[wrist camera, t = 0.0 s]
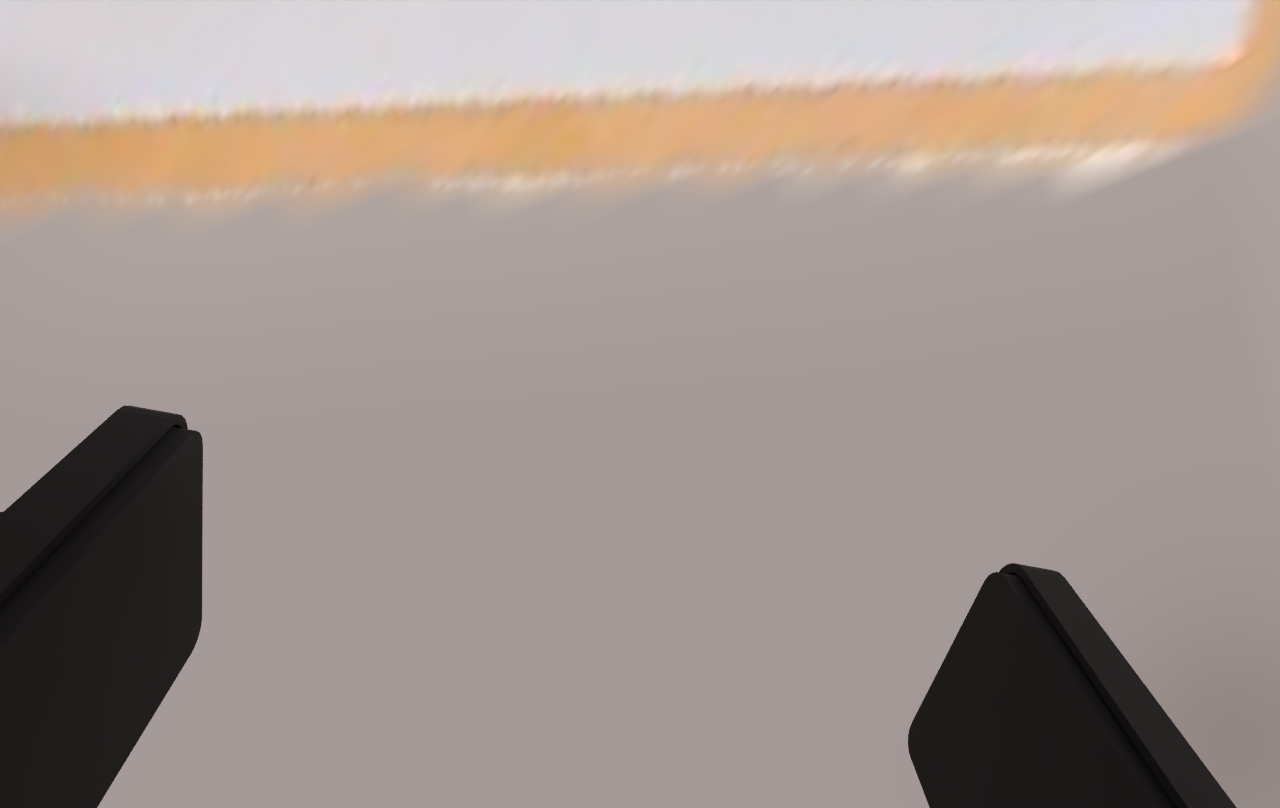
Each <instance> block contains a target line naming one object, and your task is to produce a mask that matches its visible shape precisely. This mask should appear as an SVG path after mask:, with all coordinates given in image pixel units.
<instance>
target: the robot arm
mask: <svg viewBox="0 0 1280 808" xmlns="http://www.w3.org/2000/svg"><path fill="white" fill-rule="evenodd" d="M202 468H203V443H202V437H201V434H200V433H199V432H198V431H193V430H188V429H187V423H186V420H185V418H184V417H183V416H181V415H178V414H173V413H167V412H162V411H156V410H150V409H145V408H139V407H133V406H123V407H121V408H120V409H118V410H117V411H116V412H115V413H113V414H112V415H111V416H110V417H109V418H108V419H107V420H106V421H105V422H103V423H102V424H101V425H100V426H99V427H98V428H97V429H96V430H94V431H93V432H92V433H91V434H90V435H89V436H88V437H87V438H86V439H84V440H83V441H82V442H81V443H80V444H79V445H78V446H77V447H75V448H74V449H73V450H72V451H71V452H70V453H69V454H68V455H67V456H65V457H64V458H63V459H62V460H61V461H60V462H59V463H58V464H57V465H55V466H54V467H53V468H52V469H51V470H50V471H49V472H48V473H47V474H45V475H44V476H43V477H42V478H41V479H40V480H39V481H38V482H36V483H35V484H34V485H33V486H32V487H31V488H30V489H29V490H28V491H26V492H25V493H24V494H23V495H22V496H21V497H20V498H19V499H17V500H16V501H15V502H14V503H13V504H12V505H11V506H10V507H9V508H7V509H6V510H5V511H4V512H0V808H97V807H98V805H99V803H100V802H101V800H102V798H103V797H104V795H105V793H106V792H107V790H108V789H109V787H110V785H111V784H112V782H113V781H114V779H115V777H116V776H117V774H118V772H119V771H120V769H121V767H122V766H123V764H124V762H125V761H126V759H127V758H128V756H129V754H130V753H131V751H132V749H133V747H134V746H135V745H136V743H137V741H138V740H139V738H140V736H141V735H142V733H143V731H144V730H145V728H146V726H147V725H148V723H149V721H150V720H151V718H152V717H153V715H154V713H155V712H156V710H157V708H158V707H159V705H160V704H161V702H162V700H163V699H164V697H165V695H166V694H167V692H168V691H169V689H170V687H171V686H172V684H173V682H174V681H175V679H176V677H177V676H178V674H179V673H180V671H181V669H182V668H183V666H184V664H185V663H186V661H187V659H188V658H189V656H190V655H191V653H192V651H193V649H194V647H195V644H196V642H197V639H198V636H199V632H200V628H201V621H202V484H203V483H202V481H203V479H202V478H203V474H202V473H203V469H202ZM908 736H909V737H908V747H909V753H910V757H911V759H912V762H913V765H914V767H915V770H916V773H917V775H918V778H919V780H920V783H921V786H922V788H923V791H924V794H925V796H926V799H927V801H928V804H929V807H930V808H1236V806H1235V805H1234V804H1233V802H1232V801H1231V800H1230V798H1229V797H1228V796H1227V794H1226V793H1225V792H1224V790H1223V789H1222V788H1221V786H1220V785H1219V784H1218V782H1217V781H1216V780H1215V778H1214V777H1213V776H1212V775H1211V773H1210V772H1209V770H1208V769H1207V768H1206V766H1205V765H1204V764H1203V762H1202V761H1201V760H1200V758H1199V757H1198V756H1197V754H1196V753H1195V752H1194V750H1193V749H1192V748H1191V746H1190V745H1189V744H1188V742H1187V741H1186V739H1185V738H1184V737H1183V735H1182V734H1181V733H1180V731H1179V730H1178V729H1177V727H1176V726H1175V725H1174V724H1173V722H1172V721H1171V719H1170V718H1169V717H1168V716H1167V714H1166V713H1165V711H1164V710H1163V709H1162V707H1161V706H1160V705H1159V703H1158V702H1157V701H1156V700H1155V698H1154V697H1153V695H1152V694H1151V693H1150V691H1149V690H1148V689H1147V687H1146V686H1145V685H1144V684H1143V682H1142V681H1141V679H1140V678H1139V677H1138V675H1137V674H1136V673H1135V671H1134V670H1133V669H1132V667H1131V666H1130V665H1129V663H1128V662H1127V660H1126V659H1125V658H1124V656H1123V655H1122V654H1121V653H1120V651H1119V650H1118V649H1117V647H1116V646H1115V645H1114V643H1113V642H1112V641H1111V639H1110V638H1109V636H1108V635H1107V634H1106V632H1105V631H1104V630H1103V628H1102V627H1101V626H1100V624H1099V623H1098V622H1097V620H1096V619H1095V618H1094V616H1093V615H1092V614H1091V612H1090V611H1089V610H1088V608H1087V607H1086V606H1085V604H1084V603H1083V602H1082V600H1081V599H1080V598H1079V596H1078V595H1077V594H1076V593H1075V591H1074V590H1073V588H1072V587H1071V586H1070V584H1069V583H1068V581H1067V580H1066V579H1065V578H1064V577H1063V576H1062V575H1061V574H1060V573H1059V572H1056V571H1053V570H1047V569H1042V568H1037V567H1031V566H1025V565H1020V564H1014V563H1013V564H1008V565H1006V566H1005V567H1003V568H1002V569H1001V570H1000V572H999V573H998V572H995V573H992V574H991V575H989V576H988V577H987V578H986V580H985V581H984V583H983V585H982V587H981V589H980V591H979V593H978V595H977V597H976V599H975V601H974V603H973V605H972V607H971V609H970V610H969V613H968V614H967V616H966V618H965V620H964V622H963V624H962V626H961V628H960V630H959V632H958V634H957V636H956V638H955V640H954V642H953V644H952V646H951V648H950V649H949V652H948V653H947V655H946V658H945V659H944V661H943V663H942V665H941V667H940V669H939V671H938V673H937V675H936V677H935V679H934V681H933V683H932V685H931V687H930V689H929V690H928V692H927V694H926V696H925V698H924V700H923V702H922V704H921V706H920V708H919V710H918V712H917V714H916V716H915V718H914V720H913V722H912V724H911V727H910V730H909V735H908Z"/></svg>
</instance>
